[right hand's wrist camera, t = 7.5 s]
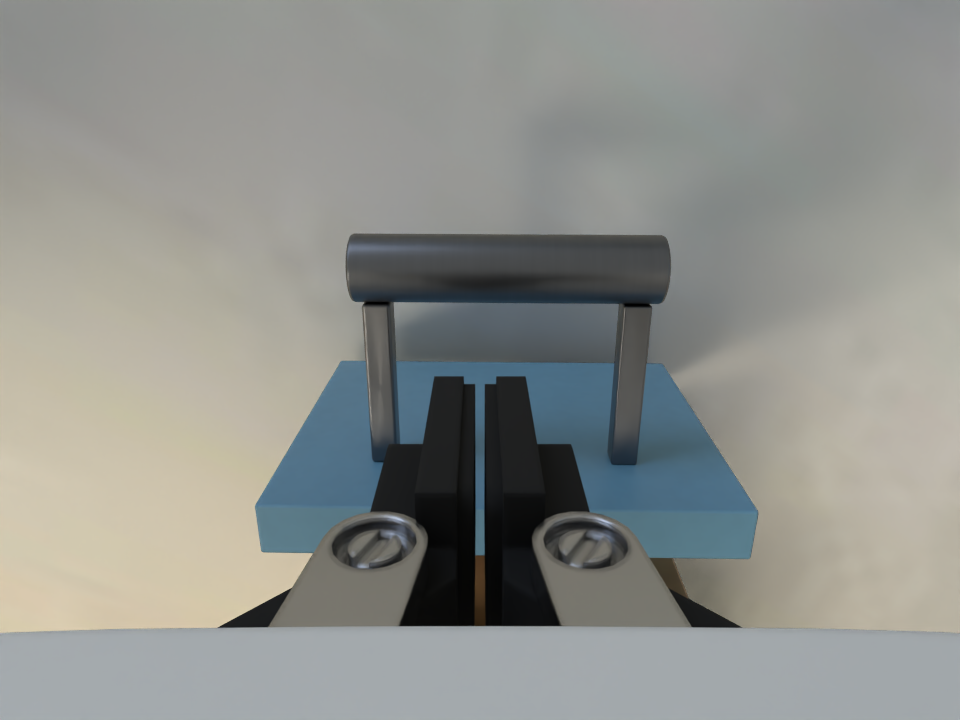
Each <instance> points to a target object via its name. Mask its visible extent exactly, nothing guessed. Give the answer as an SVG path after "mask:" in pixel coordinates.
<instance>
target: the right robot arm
mask: <svg viewBox="0 0 960 720" xmlns="http://www.w3.org/2000/svg"><path fill="white" fill-rule="evenodd" d="M475 540H476V453H475V384H464V376H434V381H433V387H432V392H431V398H430V404H429V410H428V416H427V422H426V428H425V434H424V440H423V444H389V445H388V448H387V451H386V455H385V459H384V462H383V466H382V470H381V474H380V477H379V481H378V485H377V488H376V492H375V496H374V499H373V503H372V507H371V510H370V512H369V513H363V514H358V515H355V516H353V517H350V518H347V519H345V520H343V521H341V522H339V523H338V524H336V525H335V526H333V527H332V528H331V529H330V530H329V531H328V532H327V533H326V534H325V536H324V537H323V538H322V540H321V542H320V543H319V545H318V546H317V548H316V550H315V551H314V553H313V555H312V556H311V558H310V560H309V561H308V563H307V564H306V566H305V568H304V569H303V571H302V573H301V574H300V576H299V577H298V579H297V581H296V582H295V584H294V586H293V587H292V588H291V589H289V590H287V591H285V592H283V593H281V594H280V595H278V596H276V597H274V598H272V599H270V600H268V601H266V602H265V603H263V604H261V605H259V606H257V607H255V608H253V609H252V610H250V611H248V612H246V613H244V614H242V615H240V616H238V617H237V618H235V619H233V620H231V621H229V622H227V623H225V624H224V625H222V626H220V627H218V628H167V629H105V630H74V631H43V632H13V633H0V720H960V633H948V632H920V631H885V630H850V629H811V628H742V627H740V626H738V625H736V624H735V623H733V622H731V621H729V620H727V619H725V618H723V617H722V616H720V615H718V614H716V613H714V612H712V611H710V610H708V609H707V608H705V607H703V606H701V605H699V604H697V603H695V602H694V601H692V600H690V599H688V598H686V597H684V596H682V595H680V594H679V593H677V592H675V591H673V590H671V589H669V588H668V587H667V586H666V584H665V582H664V581H663V579H662V577H661V576H660V574H659V573H658V571H657V569H656V568H655V566H654V564H653V563H652V561H651V560H650V558H649V556H648V555H647V553H646V551H645V550H644V548H643V546H642V545H641V543H640V542H639V540H638V538H637V537H636V536H635V534H634V533H633V532H632V531H631V530H630V529H629V528H628V527H627V526H625V525H624V524H622V523H621V522H619V521H617V520H615V519H613V518H610V517H607V516H605V515H602V514H597V513H591V512H590V510H589V507H588V503H587V499H586V496H585V492H584V488H583V485H582V481H581V477H580V474H579V470H578V466H577V462H576V459H575V455H574V451H573V448H572V445H571V444H537V440H536V434H535V428H534V422H533V416H532V410H531V404H530V398H529V392H528V387H527V381H526V376H496V384H485V452H484V540H485V626H475Z"/></svg>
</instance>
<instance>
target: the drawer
mask: <svg viewBox="0 0 960 720" xmlns="http://www.w3.org/2000/svg"><path fill="white" fill-rule="evenodd" d="M670 273H671V256H670V248H669V244H668V241H667V239H666V237H664V236H662V235H510V234H352V235H351V236H350V238H349V241H348V244H347V250H346V280H347V287H348V291H349V295H350V297H351V299H352V300H353V301H355V302H364V304H363V306H362V312H363V327H364V343H365V358H366V361H341V362H340V364H339V365H338V367H337V369H336V371H335V372H334V374H333V376H332V377H331V379H330V381H329V382H328V384H327V386H326V387H325V389H324V391H323V392H322V394H321V396H320V397H319V399H318V401H317V402H316V404H315V406H314V407H313V409H312V411H311V412H310V414H309V416H308V418H307V419H306V421H305V423H304V424H303V426H302V428H301V429H300V431H299V433H298V434H297V436H296V438H295V439H294V441H293V443H292V444H291V446H290V448H289V449H288V451H287V453H286V454H285V456H284V458H283V460H282V461H281V463H280V465H279V466H278V468H277V470H276V471H275V473H274V475H273V476H272V478H271V480H270V481H269V483H268V485H267V486H266V488H265V490H264V491H263V493H262V495H261V496H260V498H259V500H258V501H257V503H256V505H255V509H256V517H257V524H258V531H259V538H260V545H261V551H262V552H276V553H314V551H315V550H316V548H317V546H318V545H319V543H320V542H321V540H322V538H323V537H324V536H325V534H326V533H327V532H328V531H329V530H330V529H331V528H332V527H333V526H335V525H336V524H338V523H339V522H341V521H343V520H345V519H347V518H350V517H353V516H355V515H358V514H363V513H369V512H370V510H371V507H372V503H373V499H374V496H375V492H376V488H377V485H378V481H379V477H380V474H381V470H382V466H383V462H384V459H385V455H386V451H387V448H388V445H389V444H423V440H424V434H425V428H426V422H427V416H428V410H429V404H430V398H431V392H432V387H433V381H434V376H464V384H475V453H476V540H475V626H485V540H484V452H485V384H496V376H526V381H527V387H528V392H529V398H530V404H531V410H532V416H533V422H534V428H535V434H536V440H537V444H571V445H572V448H573V451H574V455H575V459H576V462H577V466H578V470H579V474H580V477H581V481H582V485H583V488H584V492H585V496H586V499H587V503H588V507H589V510H590V512H591V513H597V514H602V515H605V516H607V517H610V518H613V519H615V520H617V521H619V522H621V523H622V524H624V525H625V526H627V527H628V528H629V529H630V530H631V531H632V532H633V533H634V534H635V536H636V537H637V538H638V540H639V542H640V543H641V545H642V546H643V548H644V550H645V551H646V553H647V555H648V556H649V558H650V560H651V561H652V563H653V564H654V566H655V568H656V569H657V571H658V573H659V574H660V576H661V577H662V579H663V581H664V582H665V584H666V586H667V587H668V588H669V589H671V590H673V591H675V592H677V593H679V594H680V595H682V596H684V597H686V598H688V595H687V593H686V590H685V588H684V585H683V583H682V580H681V578H680V575H679V572H678V570H677V567H676V565H675V562H674V560H673V558H704V559H750V557H751V552H752V546H753V540H754V535H755V529H756V524H757V518H758V510H757V509H756V507H755V506H754V504H753V503H752V501H751V500H750V498H749V497H748V495H747V493H746V492H745V490H744V489H743V487H742V486H741V484H740V483H739V481H738V480H737V478H736V477H735V475H734V473H733V472H732V470H731V469H730V467H729V466H728V464H727V463H726V461H725V460H724V458H723V456H722V455H721V453H720V452H719V450H718V449H717V447H716V446H715V444H714V443H713V441H712V439H711V438H710V436H709V435H708V433H707V432H706V430H705V429H704V427H703V426H702V424H701V422H700V421H699V419H698V418H697V416H696V415H695V413H694V412H693V410H692V409H691V407H690V405H689V404H688V402H687V401H686V399H685V398H684V396H683V395H682V393H681V392H680V390H679V388H678V387H677V385H676V384H675V382H674V381H673V379H672V378H671V376H670V375H669V373H668V372H667V370H666V368H665V367H664V365H663V364H649V363H647V355H648V344H649V334H650V324H651V314H652V307H651V305H650V304H660V303H662V302H663V301H664V299H665V297H666V295H667V292H668V288H669V282H670ZM394 302H452V303H593V304H619V311H618V323H617V336H616V349H615V361H614V363H534V362H420V361H396V344H395V323H394ZM688 599H689V598H688Z"/></svg>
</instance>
